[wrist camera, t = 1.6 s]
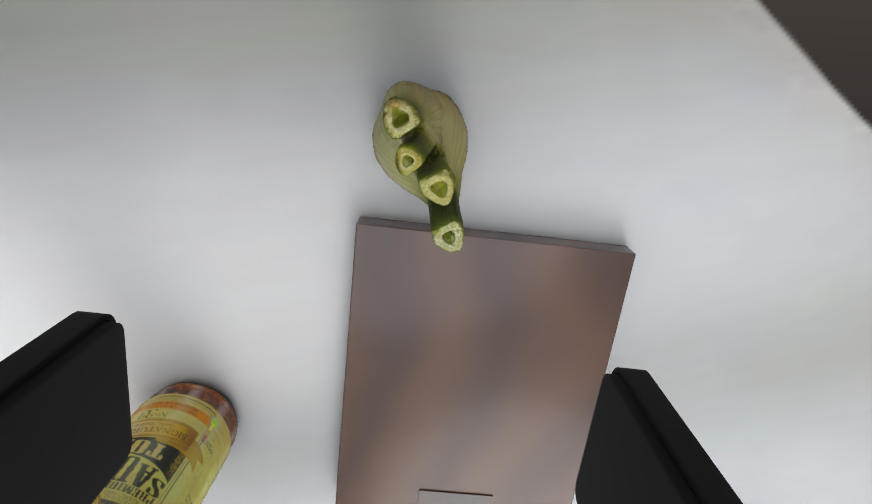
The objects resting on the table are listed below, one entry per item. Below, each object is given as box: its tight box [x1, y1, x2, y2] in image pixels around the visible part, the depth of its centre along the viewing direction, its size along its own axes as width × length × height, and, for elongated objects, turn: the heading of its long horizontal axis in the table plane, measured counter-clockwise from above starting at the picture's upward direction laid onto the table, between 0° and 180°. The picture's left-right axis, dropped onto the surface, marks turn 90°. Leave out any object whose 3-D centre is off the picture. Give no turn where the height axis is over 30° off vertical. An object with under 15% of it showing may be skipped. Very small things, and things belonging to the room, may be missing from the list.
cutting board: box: [336, 217, 635, 504], centre depth 34 cm, size 16×20×2 cm
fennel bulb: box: [372, 81, 468, 252], centre depth 24 cm, size 6×5×12 cm
